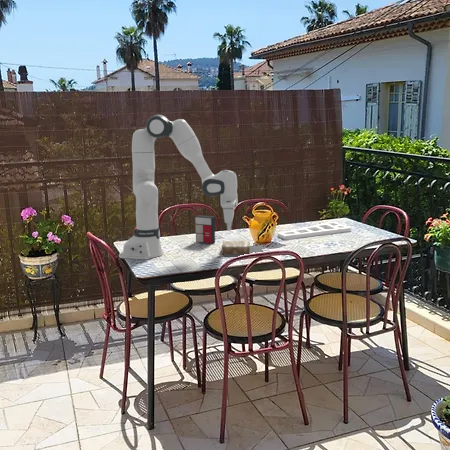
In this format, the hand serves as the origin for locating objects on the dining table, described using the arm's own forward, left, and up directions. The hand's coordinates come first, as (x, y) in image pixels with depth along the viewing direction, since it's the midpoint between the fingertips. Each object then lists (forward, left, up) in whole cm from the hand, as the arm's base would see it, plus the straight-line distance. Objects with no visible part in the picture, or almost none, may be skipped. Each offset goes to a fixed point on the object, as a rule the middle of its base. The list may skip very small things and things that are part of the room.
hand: (229, 228), depth 244 cm
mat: (+8, 0, -13) cm, 15 cm away
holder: (+46, +41, -13) cm, 63 cm away
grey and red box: (-15, +19, -13) cm, 27 cm away
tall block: (-4, 0, -10) cm, 11 cm away
